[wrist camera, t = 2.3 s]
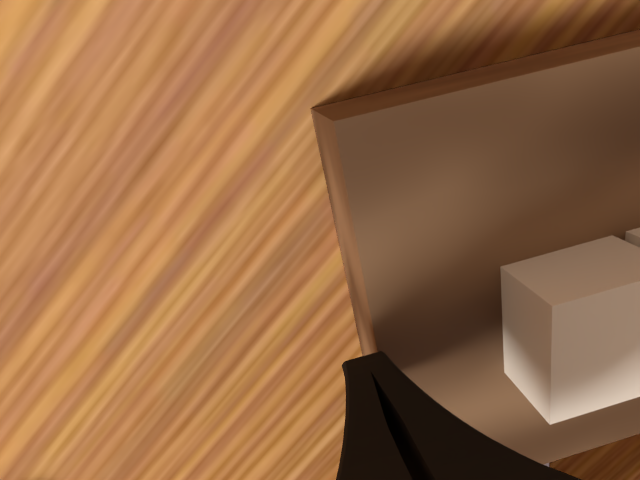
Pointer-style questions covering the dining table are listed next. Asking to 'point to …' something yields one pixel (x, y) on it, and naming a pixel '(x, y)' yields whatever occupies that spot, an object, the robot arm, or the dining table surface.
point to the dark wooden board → (482, 218)
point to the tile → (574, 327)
